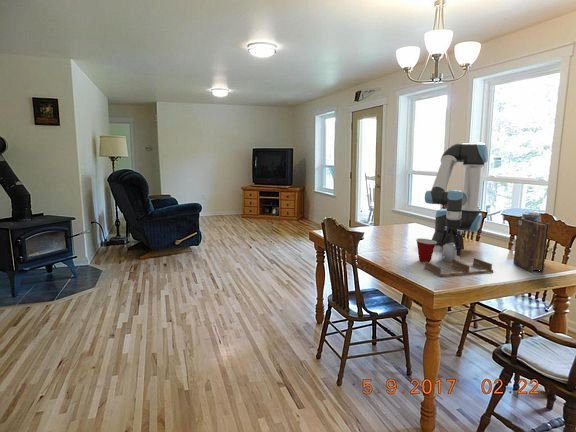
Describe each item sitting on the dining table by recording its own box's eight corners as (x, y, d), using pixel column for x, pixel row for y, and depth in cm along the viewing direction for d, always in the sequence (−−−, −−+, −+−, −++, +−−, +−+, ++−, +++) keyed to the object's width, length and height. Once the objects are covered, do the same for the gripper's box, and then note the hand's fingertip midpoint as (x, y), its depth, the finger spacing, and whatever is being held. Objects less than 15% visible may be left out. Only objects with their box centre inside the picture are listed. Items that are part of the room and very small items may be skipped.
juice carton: (516, 259, 209) (521, 211, 204) (519, 255, 217) (524, 209, 212) (535, 262, 203) (540, 213, 199) (537, 258, 211) (542, 210, 207)
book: (511, 263, 202) (516, 217, 198) (525, 263, 202) (530, 217, 197) (530, 272, 185) (535, 223, 181) (544, 272, 185) (550, 223, 181)
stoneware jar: (451, 258, 211) (453, 241, 209) (460, 262, 204) (461, 244, 203) (441, 259, 209) (442, 241, 208) (449, 262, 203) (450, 244, 201)
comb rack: (474, 264, 199) (475, 257, 198) (493, 272, 186) (493, 264, 185) (424, 269, 192) (424, 261, 191) (440, 277, 179) (440, 269, 179)
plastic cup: (438, 264, 199) (439, 242, 197) (417, 263, 201) (418, 242, 199) (432, 259, 210) (434, 238, 208) (413, 258, 211) (414, 237, 209)
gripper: (435, 215, 213) (432, 254, 216) (461, 222, 191) (458, 264, 195) (446, 215, 214) (444, 253, 218) (473, 221, 193) (470, 263, 197)
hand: (450, 258), depth 207 cm, fingers open, 9 cm apart
